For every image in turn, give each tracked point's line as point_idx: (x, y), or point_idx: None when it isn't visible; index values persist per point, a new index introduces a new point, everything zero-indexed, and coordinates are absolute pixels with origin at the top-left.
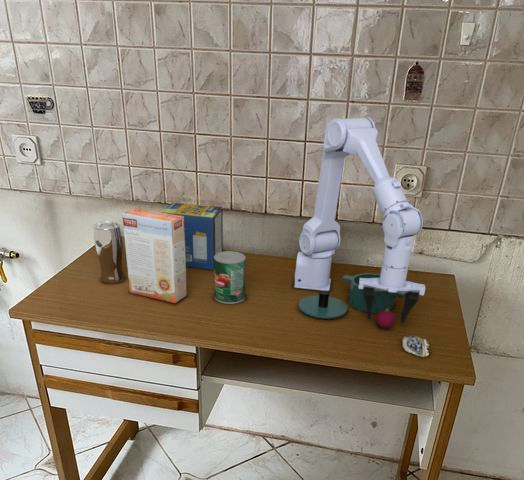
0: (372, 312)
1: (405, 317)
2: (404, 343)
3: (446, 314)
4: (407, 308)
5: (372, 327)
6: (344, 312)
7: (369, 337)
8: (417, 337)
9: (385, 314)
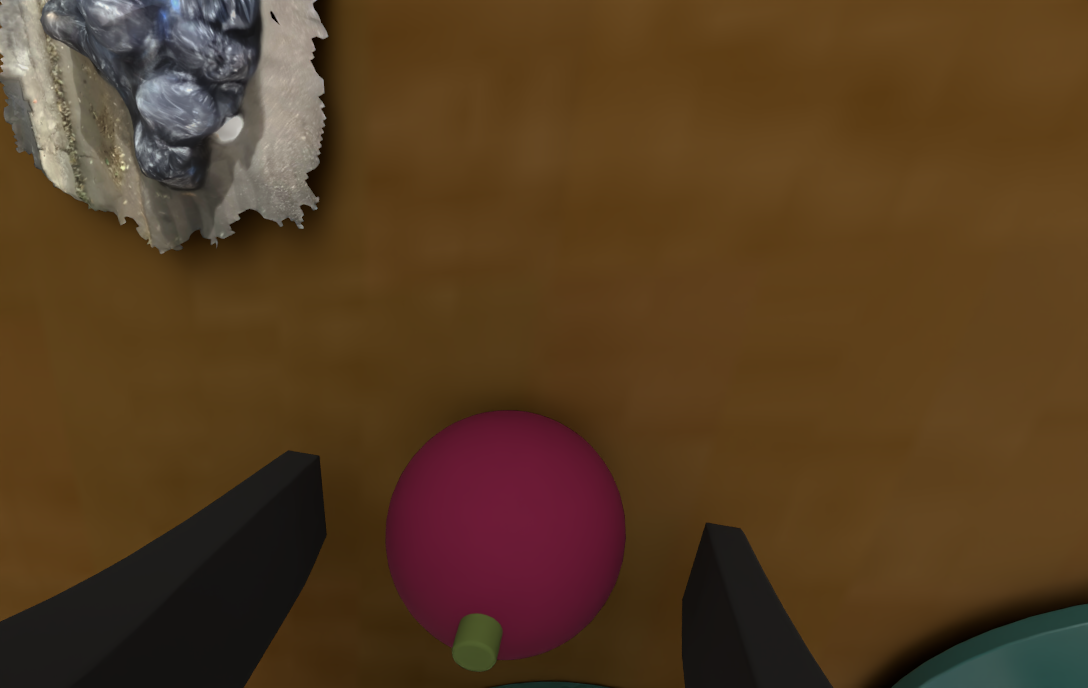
0: (597, 686)
1: (230, 494)
2: (294, 32)
3: None
4: (113, 608)
5: (654, 452)
6: (934, 684)
7: (753, 222)
8: (144, 217)
9: (510, 559)
